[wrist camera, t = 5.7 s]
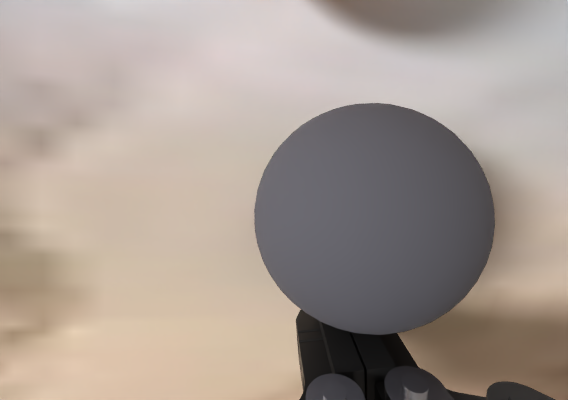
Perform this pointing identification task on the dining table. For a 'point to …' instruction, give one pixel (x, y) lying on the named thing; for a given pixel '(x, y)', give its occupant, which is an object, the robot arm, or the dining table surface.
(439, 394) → the robot arm
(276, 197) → the gray ball
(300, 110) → the dining table surface
